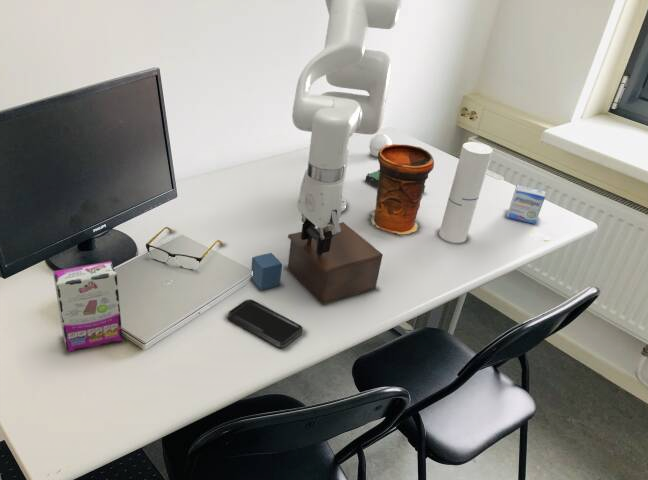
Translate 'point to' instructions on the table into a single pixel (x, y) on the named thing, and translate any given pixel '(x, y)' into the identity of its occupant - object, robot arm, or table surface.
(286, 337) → the phone
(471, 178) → the cylindrical container
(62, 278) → the candy bar box
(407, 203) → the vessel
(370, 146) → the white rounded piece
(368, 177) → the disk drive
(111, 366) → the table surface
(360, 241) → the lid
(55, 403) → the table surface
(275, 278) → the block
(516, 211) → the medicine box
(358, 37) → the robot arm
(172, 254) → the eyeglasses
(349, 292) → the chest
